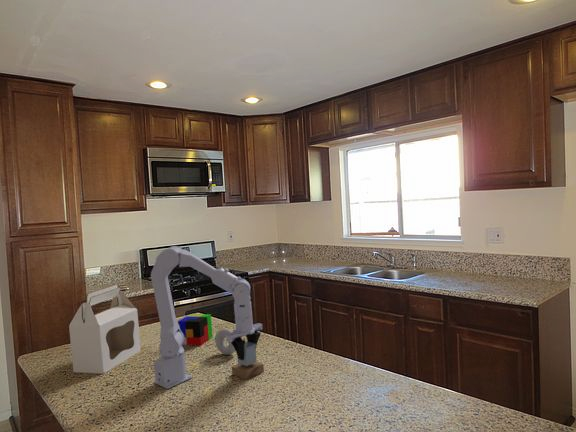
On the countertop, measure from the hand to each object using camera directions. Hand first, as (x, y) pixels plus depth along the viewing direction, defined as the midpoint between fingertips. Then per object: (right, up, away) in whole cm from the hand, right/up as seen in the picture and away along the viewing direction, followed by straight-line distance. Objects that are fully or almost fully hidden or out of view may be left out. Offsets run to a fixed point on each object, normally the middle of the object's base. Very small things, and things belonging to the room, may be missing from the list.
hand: (246, 356), depth 134 cm
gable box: (-55, -9, +20) cm, 60 cm away
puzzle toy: (-25, -6, +36) cm, 45 cm away
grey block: (0, -2, 0) cm, 2 cm away
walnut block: (0, -6, 0) cm, 6 cm away
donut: (-9, -6, +18) cm, 21 cm away
